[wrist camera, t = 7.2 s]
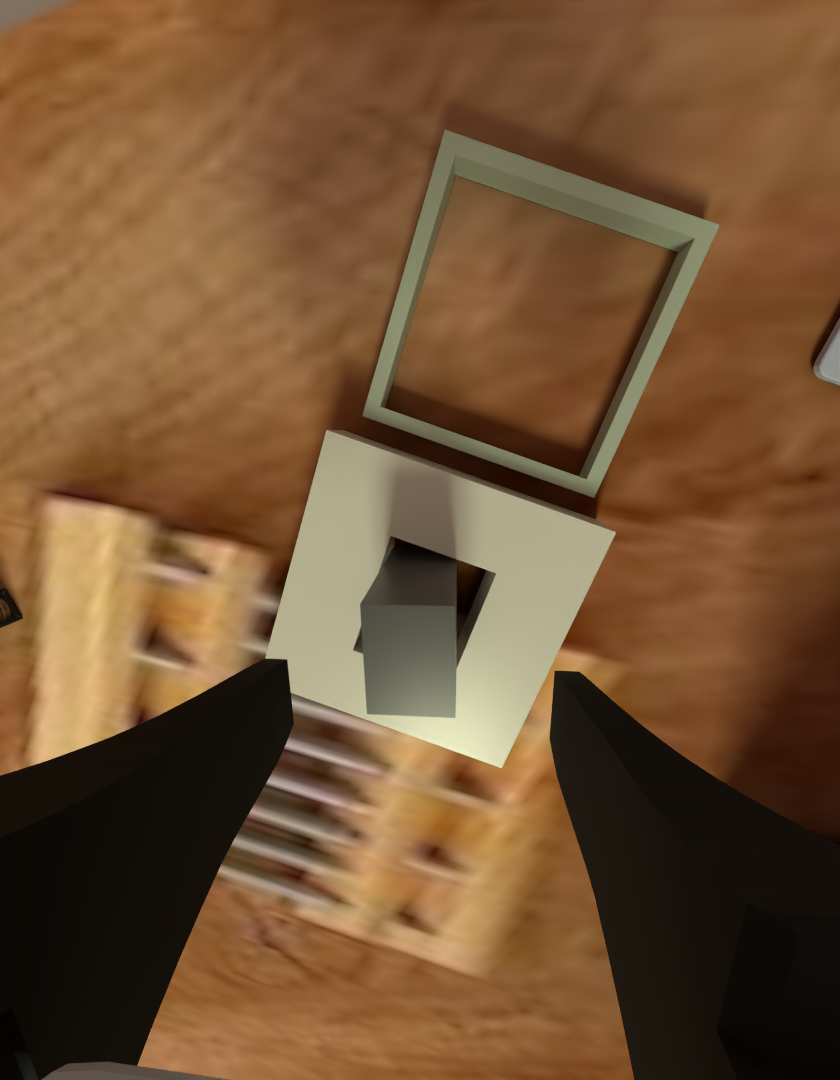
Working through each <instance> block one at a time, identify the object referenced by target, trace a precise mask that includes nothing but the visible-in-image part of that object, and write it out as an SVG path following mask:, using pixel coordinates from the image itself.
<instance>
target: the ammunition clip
mask: <svg viewBox="0 0 840 1080" xmlns="http://www.w3.org/2000/svg"><path fill="white" fill-rule="evenodd" d="M20 619H23V618H22V617H21V615H20V613H19V612H18V610H17V608H16V607H15V605H14V603H13V602H12V600H11V598H10V597H9V595H8V593H7V591H6V590H5V588H4V589H1V590H0V628H1V627H4V626H6V625H8V624H11V623H13V622H16V621H18V620H20Z"/></svg>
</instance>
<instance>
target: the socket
mask: <svg viewBox="0 0 840 1080" xmlns="http://www.w3.org/2000/svg"><path fill="white" fill-rule="evenodd" d="M615 534H616V532H615V531H613V530H612V529H610V528H609V527H607V526H606V525H604V524H603V523H601V522H599V521H598V520H596V519H594V518H591V517H588V516H585V515H582V514H579V513H577V512H574V511H571V510H568V509H565V508H562V507H560V506H557V505H554V504H551V503H548V502H545V501H543V500H540V499H537V498H534V497H531V496H528V495H526V494H523V493H520V492H517V491H514V490H511V489H509V488H506V487H503V486H500V485H497V484H495V483H492V482H489V481H486V480H483V479H480V478H478V477H475V476H472V475H469V474H466V473H463V472H461V471H458V470H455V469H452V468H449V467H446V466H444V465H441V464H438V463H435V462H432V461H429V460H427V459H424V458H421V457H418V456H415V455H412V454H410V453H407V452H404V451H401V450H398V449H396V448H393V447H390V446H387V445H384V444H381V443H379V442H376V441H373V440H370V439H367V438H364V437H362V436H359V435H356V434H353V433H350V432H347V431H345V430H326V434H325V437H324V441H323V445H322V449H321V452H320V456H319V460H318V464H317V467H316V471H315V475H314V479H313V482H312V486H311V490H310V494H309V497H308V501H307V505H306V508H305V512H304V516H303V520H302V523H301V527H300V531H299V535H298V538H297V542H296V546H295V550H294V553H293V557H292V561H291V565H290V568H289V572H288V576H287V579H286V583H285V587H284V591H283V594H282V598H281V602H280V606H279V609H278V613H277V617H276V621H275V624H274V628H273V632H272V635H271V639H270V643H269V647H268V650H267V654H266V658H267V659H287V661H288V671H289V681H290V691H291V693H294V694H296V695H299V696H302V697H305V698H308V699H310V700H313V701H316V702H319V703H322V704H324V705H327V706H330V707H333V708H335V709H338V710H341V711H344V712H347V713H349V714H352V715H355V716H358V717H361V718H363V719H366V720H369V721H372V722H374V723H377V724H380V725H383V726H386V727H388V728H391V729H394V730H397V731H400V732H402V733H405V734H408V735H411V736H414V737H416V738H419V739H422V740H425V741H427V742H430V743H433V744H436V745H439V746H441V747H444V748H447V749H450V750H453V751H455V752H458V753H461V754H464V755H466V756H469V757H472V758H475V759H478V760H480V761H483V762H486V763H489V764H492V765H494V766H497V767H500V768H502V766H503V764H504V762H505V760H506V758H507V756H508V754H509V752H510V750H511V748H512V746H513V744H514V742H515V739H516V737H517V735H518V733H519V731H520V729H521V727H522V725H523V723H524V721H525V719H526V717H527V715H528V713H529V711H530V709H531V707H532V705H533V702H534V700H535V698H536V696H537V694H538V692H539V690H540V688H541V686H542V684H543V682H544V680H545V678H546V676H547V674H548V672H549V670H550V667H551V665H552V663H553V661H554V659H555V657H556V655H557V653H558V651H559V649H560V647H561V645H562V643H563V641H564V639H565V637H566V635H567V633H568V630H569V628H570V626H571V624H572V622H573V620H574V618H575V616H576V614H577V612H578V610H579V608H580V606H581V604H582V602H583V600H584V598H585V595H586V593H587V591H588V589H589V587H590V585H591V583H592V581H593V579H594V577H595V575H596V573H597V571H598V569H599V567H600V565H601V563H602V561H603V558H604V556H605V554H606V552H607V550H608V548H609V546H610V544H611V542H612V540H613V538H614V536H615ZM394 538H398V539H401V540H404V541H406V542H409V543H412V544H415V545H418V546H421V547H423V548H426V549H429V550H432V551H435V552H437V553H440V554H443V555H446V556H449V557H452V558H454V559H457V560H460V561H463V562H466V563H468V564H471V565H474V566H477V567H480V568H482V569H485V570H486V572H485V575H484V577H483V580H482V582H481V584H480V587H479V589H478V592H477V594H476V597H475V599H474V602H473V604H472V607H471V609H470V611H469V614H468V616H467V619H466V621H465V624H464V626H463V629H462V631H461V634H460V636H459V638H458V641H457V669H456V717H455V718H444V717H421V716H398V715H374V714H367V709H366V693H365V676H364V660H363V644H362V628H361V612H360V604H361V602H362V600H363V599H364V597H365V595H366V594H367V592H368V590H369V588H370V587H371V585H372V583H373V582H374V580H375V578H376V577H377V575H378V573H379V571H380V570H381V568H382V566H383V565H384V563H385V561H386V560H387V558H388V556H389V553H390V550H391V547H392V544H393V541H394ZM266 658H265V659H266Z"/></svg>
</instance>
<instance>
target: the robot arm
mask: <svg viewBox="0 0 840 1080" xmlns="http://www.w3.org/2000/svg"><path fill="white" fill-rule="evenodd" d="M814 373H815V375H816V376H817V377H818V378H820V379H822V380H825V381H828V382H831V383H834V384H837V385H840V318H839V320H838V322H837V323H836V325H835V327H834V329H833V331H832V332H831V334H830V336H829V338H828V340H827V341H826V343H825V345H824V347H823V349H822V350H821V352H820V354H819V356H818V357H817V359H816V361H815V364H814ZM293 724H294V721H293V711H292V701H291V691H290V681H289V671H288V661H287V659H267V658H266V659H264V660H262V661H259V662H257V663H255V664H253V665H252V666H250V667H248V668H246V669H244V670H242V671H240V672H239V673H237V674H235V675H233V676H232V677H230V678H228V679H226V680H224V681H223V682H221V683H219V684H217V685H216V686H214V687H212V688H210V689H208V690H207V691H205V692H203V693H201V694H199V695H198V696H196V697H194V698H192V699H190V700H188V701H186V702H184V703H182V704H180V705H178V706H176V707H174V708H173V709H171V710H169V711H167V712H165V713H163V714H161V715H159V716H157V717H155V718H153V719H151V720H149V721H146V722H144V723H142V724H140V725H138V726H136V727H133V728H131V729H129V730H126V731H124V732H122V733H119V734H117V735H115V736H112V737H110V738H108V739H105V740H103V741H100V742H97V743H95V744H92V745H89V746H87V747H84V748H81V749H78V750H76V751H73V752H70V753H68V754H65V755H62V756H60V757H57V758H54V759H51V760H48V761H45V762H42V763H39V764H36V765H33V766H30V767H27V768H24V769H21V770H17V771H14V772H11V773H7V774H4V775H1V776H0V1080H229V1079H222V1078H215V1077H209V1076H202V1075H195V1074H188V1073H181V1072H174V1071H168V1070H161V1069H154V1068H147V1067H140V1066H137V1064H138V1062H139V1059H140V1057H141V1054H142V1051H143V1049H144V1046H145V1043H146V1041H147V1038H148V1035H149V1033H150V1030H151V1028H152V1025H153V1023H154V1020H155V1018H156V1015H157V1013H158V1010H159V1008H160V1005H161V1003H162V1000H163V998H164V995H165V993H166V990H167V988H168V985H169V983H170V981H171V978H172V976H173V973H174V971H175V968H176V966H177V963H178V961H179V958H180V956H181V954H182V951H183V949H184V947H185V944H186V942H187V940H188V937H189V935H190V933H191V931H192V928H193V926H194V924H195V921H196V919H197V917H198V914H199V912H200V910H201V907H202V905H203V903H204V901H205V899H206V896H207V894H208V892H209V890H210V888H211V885H212V883H213V881H214V879H215V877H216V874H217V872H218V870H219V868H220V866H221V863H222V861H223V859H224V857H225V856H226V854H227V852H228V850H229V848H230V846H231V844H232V842H233V840H234V838H235V837H236V835H237V833H238V831H239V830H240V828H241V826H242V824H243V823H244V821H245V819H246V817H247V816H248V814H249V812H250V810H251V809H252V807H253V805H254V803H255V802H256V800H257V798H258V796H259V795H260V793H261V791H262V789H263V788H264V786H265V784H266V782H267V780H268V779H269V777H270V775H271V773H272V771H273V770H274V768H275V766H276V764H277V762H278V760H279V759H280V756H281V754H282V752H283V749H284V747H285V745H286V742H287V740H288V737H289V734H290V732H291V729H292V727H293ZM550 742H551V748H552V753H553V758H554V763H555V768H556V773H557V778H558V781H559V784H560V787H561V790H562V794H563V797H564V800H565V803H566V806H567V809H568V812H569V815H570V819H571V822H572V825H573V828H574V831H575V834H576V837H577V840H578V843H579V846H580V849H581V852H582V855H583V859H584V862H585V865H586V868H587V871H588V874H589V878H590V881H591V885H592V888H593V892H594V895H595V899H596V904H597V908H598V912H599V917H600V921H601V925H602V930H603V934H604V938H605V943H606V947H607V951H608V956H609V961H610V965H611V970H612V974H613V979H614V983H615V988H616V993H617V997H618V1002H619V1006H620V1011H621V1016H622V1021H623V1025H624V1030H625V1035H626V1040H627V1045H628V1050H629V1055H630V1060H631V1065H632V1070H633V1074H634V1079H635V1080H840V845H839V844H837V843H835V842H832V841H830V840H828V839H826V838H824V837H822V836H820V835H818V834H816V833H814V832H812V831H810V830H808V829H806V828H804V827H802V826H800V825H798V824H796V823H794V822H793V821H791V820H789V819H787V818H785V817H783V816H781V815H779V814H777V813H775V812H774V811H772V810H770V809H768V808H767V807H765V806H763V805H761V804H759V803H758V802H756V801H754V800H752V799H751V798H749V797H747V796H745V795H744V794H742V793H740V792H738V791H737V790H735V789H733V788H732V787H730V786H728V785H727V784H725V783H723V782H722V781H720V780H718V779H717V778H715V777H714V776H712V775H711V774H709V773H708V772H706V771H705V770H703V769H702V768H700V767H699V766H697V765H696V764H694V763H692V762H691V761H689V760H688V759H686V758H685V757H684V756H682V755H681V754H679V753H678V752H676V751H675V750H674V749H672V748H671V747H670V746H668V745H667V744H666V743H664V742H663V741H662V740H660V739H659V738H658V737H656V736H655V735H654V734H652V733H651V732H650V731H648V730H647V729H646V728H645V727H643V726H642V725H641V724H640V723H638V722H637V721H636V720H635V719H634V718H632V717H631V716H630V715H629V714H627V713H626V712H625V711H624V710H623V709H622V708H620V707H619V706H618V705H617V704H616V703H615V702H613V701H612V700H611V699H610V698H609V697H608V696H607V695H605V694H604V693H603V692H602V691H601V690H600V689H599V688H598V687H596V686H595V685H594V684H593V683H592V682H591V681H590V680H589V679H587V678H586V677H585V676H584V675H583V674H581V673H580V672H573V671H555V676H554V689H553V702H552V715H551V728H550Z"/></svg>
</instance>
